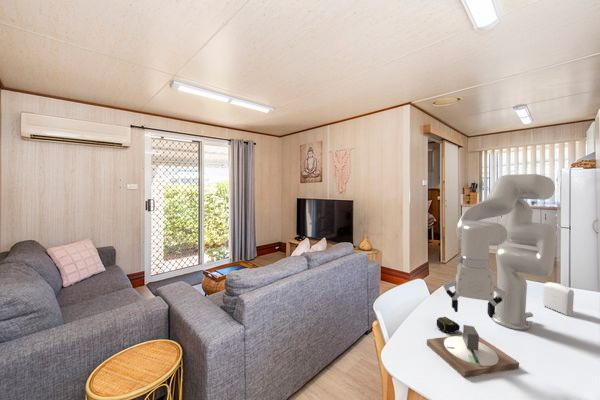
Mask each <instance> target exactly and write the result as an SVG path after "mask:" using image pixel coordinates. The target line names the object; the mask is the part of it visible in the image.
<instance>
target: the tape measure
mask: <svg viewBox="0 0 600 400" xmlns="http://www.w3.org/2000/svg"><path fill="white" fill-rule="evenodd" d="M436 327H437V329H439V330H441V331H443V332H446V333H450V334H452V333H456V332H458V331H459V330H460V329H461V327H460V325H459V323H457V322H455V321H454V320H452V319H450V318H448V317H446V316H442V317H441V316H440V317H438V318H437V319H436Z"/></svg>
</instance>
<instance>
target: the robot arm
mask: <svg viewBox="0 0 600 400" xmlns="http://www.w3.org/2000/svg"><path fill="white" fill-rule="evenodd" d="M555 188H556V185H555V183H554V180H553V179H552V178H550V177H548V176H546V175H542V174H536V173H535V174H534V173H527V174H525V173H524V174H522V173H521V174H520V173H519V174H505V175H501V176H500V177H498V178H497V179H496V181H495V182H494V184H493V185H492V188H491V190H490V191H489V193H488V195H487V197H486V199H484V200H481V201H479V202H478V203H475V204H473V205H472V206H469V207H468V208H467V209H466V210H465V211H463V213H462V215H461V216H460V218H459V219H458V222H457V224H456V227H455V233H456V236H457V238H458V239H460V240H461V243H460V245H461V246H460V256H456V257H455V261H456V262H458V265H457V268H456V273H455V280H452V281H448V282H445V283H443V284H442V286H443V288H444V290H445V292H446V293H447V296H449V297H450V298H451V308H452V309H453V311H454V313H458V309H459V305H458V304H459V301H458V299H459V298H460V297H462V298H466V299H467V298H468V299H473V300H481V301H488V302H487V315H488V317H489V318H490V319H492V320H493V321H494V323H496V324H498V325H500V326H503V327H506V328H509V329H513V330H520V331H521V330H522V331H526V330H529V329H530V328H531V327H530V326H531V324H530V323H529V321H528V320H527V319H528V318H533V317H534V314H533V313H532V312H531V311H527V312H526V309H527V293H528V291H527V290H528V283H527V280H526V279H525V277H524V275H523V274H522V273H524V274H527V275H528V274H529V275H532V276H537V277H541V278H542V277H543V278H544V277H545V278H547V277H550V276H551V275H552V273H553V270H554V265H555V255H556V247H557V246H556V245H557V232H556V228H555V227H554V226H552V225H551V224H548V223H541V222H533V213H534V211H533V208H532V207H531V205H530V204H529V203H528V202H527V201H526V200H539V201H541V200H549V199H550V198H552V197H553V195H554V194H555V190H556V189H555ZM504 215H505V216H504ZM501 216H504V218H505V219H504V224H501V223H497V222H489V221H483V220H485V219H491V218H497V217H501ZM505 242H507V243H511V244H515V245H519V246H520V245H521V246H527V247H534V248H537V250H535V249H530V248H529V249H528V248H522V247H516V246H509V245H505V246H501V247H499V248H498V249H497V250H496V252H495V261H496V270H497V275H496V277H497V279H496V286H494V285H495V283H494V275H493V269H492V268H491V267H490V266H489V262H490V246H493V247H494V246H500V245H502V244H503V243H505ZM453 287H454V289H455V290H454V291H451V289H450V288H453ZM495 292H496V295H495Z"/></svg>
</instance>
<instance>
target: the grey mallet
mask: <svg viewBox="0 0 600 400" xmlns="http://www.w3.org/2000/svg"><path fill="white" fill-rule="evenodd" d="M462 330H463V331H462V335H463V340H464V343H465V345H466V348H467V349H468V350H470V351H471V354H472V356H473V358H474V360H475V362H477V363H478V359H477V357H476V355H475V353H474V351H473V350H477V351H478V344H479V337H480V335H479V333H478V332H477V330H476V328H475V326H473V325H468V324H467V325H466V324H463V327H462Z"/></svg>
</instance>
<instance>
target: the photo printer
mask: <svg viewBox="0 0 600 400" xmlns="http://www.w3.org/2000/svg"><path fill="white" fill-rule="evenodd" d="M574 295H575V292H574V290H573V289H571V288H570V287H568V286H565V285H563V284H561V283H557V282H552V281H551V282H550V281H549V282H545V283H544V285H543V299H542V305H544V306H546V307H545V308H547V307H549V308H551V309H550V310H552V309H554V310H556V311H555V312H557V311H558V312H557V313H559V312H561V313H560V314H562V313H563V314H562V315H565V316H568V315H572V316H573V312H574ZM544 306H543V307H544ZM549 308H548V309H549ZM554 310H553V311H554Z"/></svg>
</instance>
